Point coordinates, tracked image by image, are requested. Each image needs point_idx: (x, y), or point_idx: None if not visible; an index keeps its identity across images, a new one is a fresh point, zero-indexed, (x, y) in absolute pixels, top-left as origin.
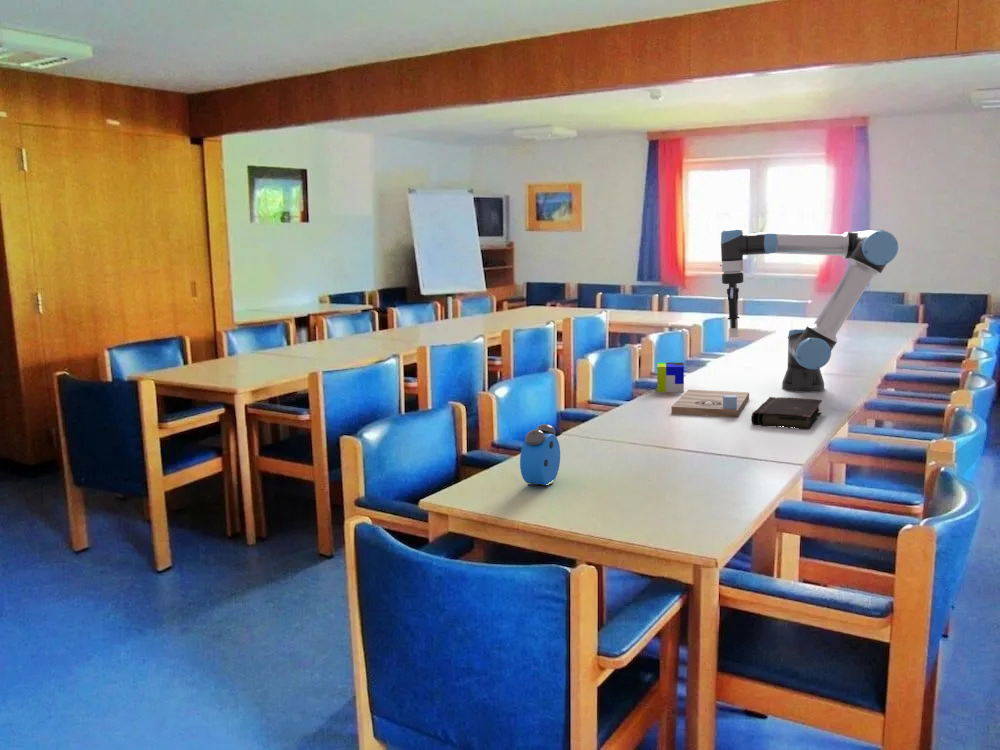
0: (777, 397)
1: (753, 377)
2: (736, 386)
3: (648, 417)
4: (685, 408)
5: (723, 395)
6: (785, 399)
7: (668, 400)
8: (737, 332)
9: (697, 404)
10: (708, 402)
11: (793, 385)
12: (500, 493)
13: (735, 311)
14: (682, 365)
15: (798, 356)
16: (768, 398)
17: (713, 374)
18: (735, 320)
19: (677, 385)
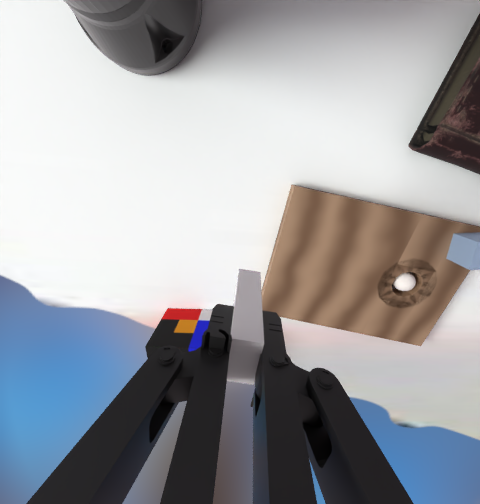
0: (444, 119)
1: (9, 146)
2: (141, 201)
3: (432, 367)
4: (432, 323)
5: (476, 269)
6: (478, 97)
7: (297, 336)
8: (260, 284)
9: (413, 304)
10: (414, 285)
11: (187, 34)
12: None
13: (375, 446)
14: (190, 350)
15: None
16: (436, 147)
17: (6, 242)
18: (264, 347)
19: None
